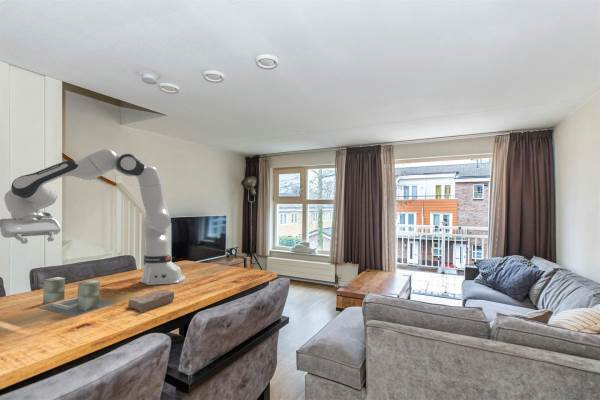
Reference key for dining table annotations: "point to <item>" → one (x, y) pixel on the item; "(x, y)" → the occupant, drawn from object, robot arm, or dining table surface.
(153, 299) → the brick
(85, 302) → the column
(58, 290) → the column
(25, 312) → the dining table surface
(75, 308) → the base board
